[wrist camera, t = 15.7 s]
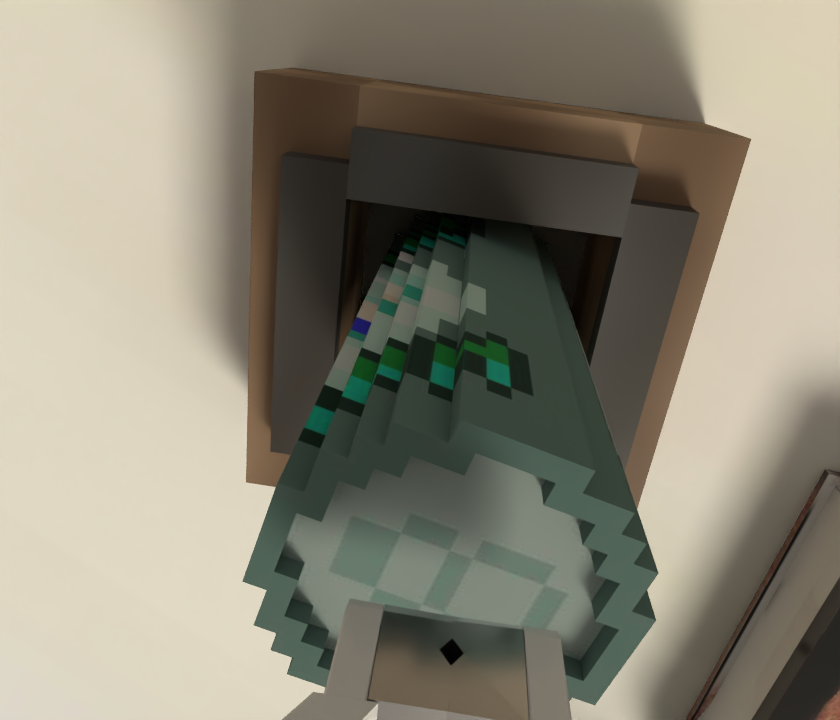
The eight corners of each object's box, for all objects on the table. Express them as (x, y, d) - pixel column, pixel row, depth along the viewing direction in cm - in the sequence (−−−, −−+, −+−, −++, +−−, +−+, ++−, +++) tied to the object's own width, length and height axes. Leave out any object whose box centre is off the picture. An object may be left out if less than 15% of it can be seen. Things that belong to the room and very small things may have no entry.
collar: (277, 424, 27) (238, 495, 23) (292, 67, 22) (245, 72, 17) (607, 473, 27) (631, 555, 23) (705, 124, 21) (762, 142, 17)
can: (416, 177, 23) (318, 365, 9) (585, 245, 23) (727, 521, 10) (357, 334, 25) (212, 665, 12) (510, 393, 26) (541, 778, 12)
